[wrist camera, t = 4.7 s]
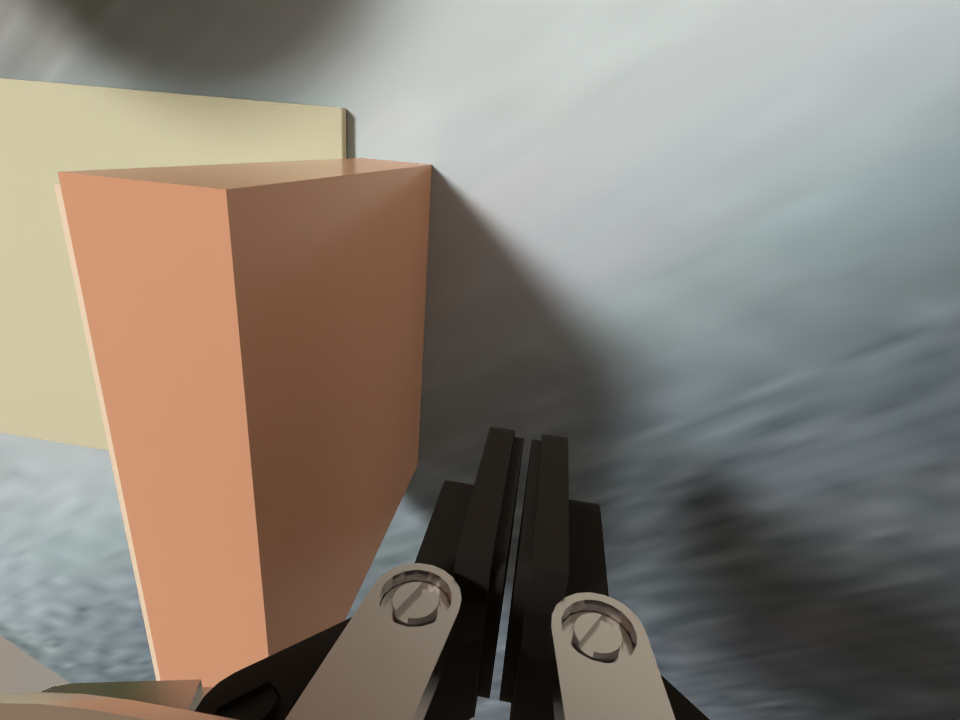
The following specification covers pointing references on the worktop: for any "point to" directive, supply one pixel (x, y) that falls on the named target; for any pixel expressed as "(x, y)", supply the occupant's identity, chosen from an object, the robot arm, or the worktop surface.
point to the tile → (252, 386)
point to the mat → (39, 232)
